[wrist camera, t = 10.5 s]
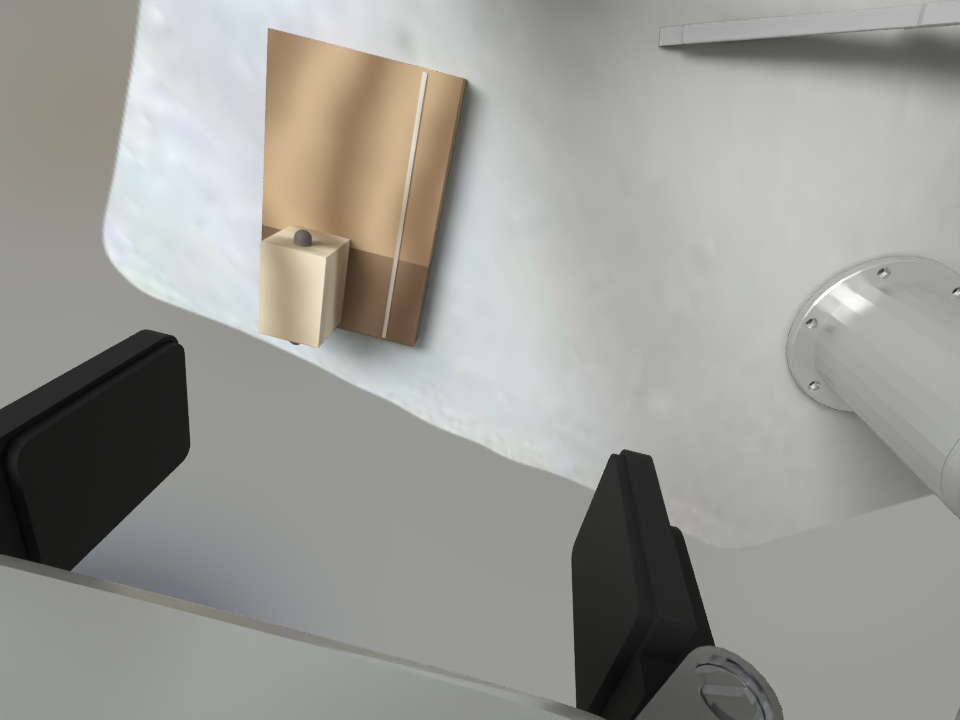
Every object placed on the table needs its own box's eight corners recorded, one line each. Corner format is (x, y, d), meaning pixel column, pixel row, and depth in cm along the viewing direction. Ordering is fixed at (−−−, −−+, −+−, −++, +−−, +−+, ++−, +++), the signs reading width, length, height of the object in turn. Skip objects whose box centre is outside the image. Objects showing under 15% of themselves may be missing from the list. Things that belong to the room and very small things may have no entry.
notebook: (466, 79, 35) (463, 78, 34) (416, 339, 45) (412, 347, 43) (278, 30, 35) (267, 27, 34) (267, 301, 44) (259, 308, 43)
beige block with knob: (351, 226, 39) (327, 243, 35) (339, 332, 43) (316, 359, 39) (293, 211, 39) (261, 226, 35) (286, 319, 43) (258, 344, 39)
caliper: (1017, 3, 31) (1123, -17, 25) (1009, 24, 31) (1111, 9, 26) (659, 28, 33) (683, 14, 28) (657, 48, 34) (680, 39, 28)
